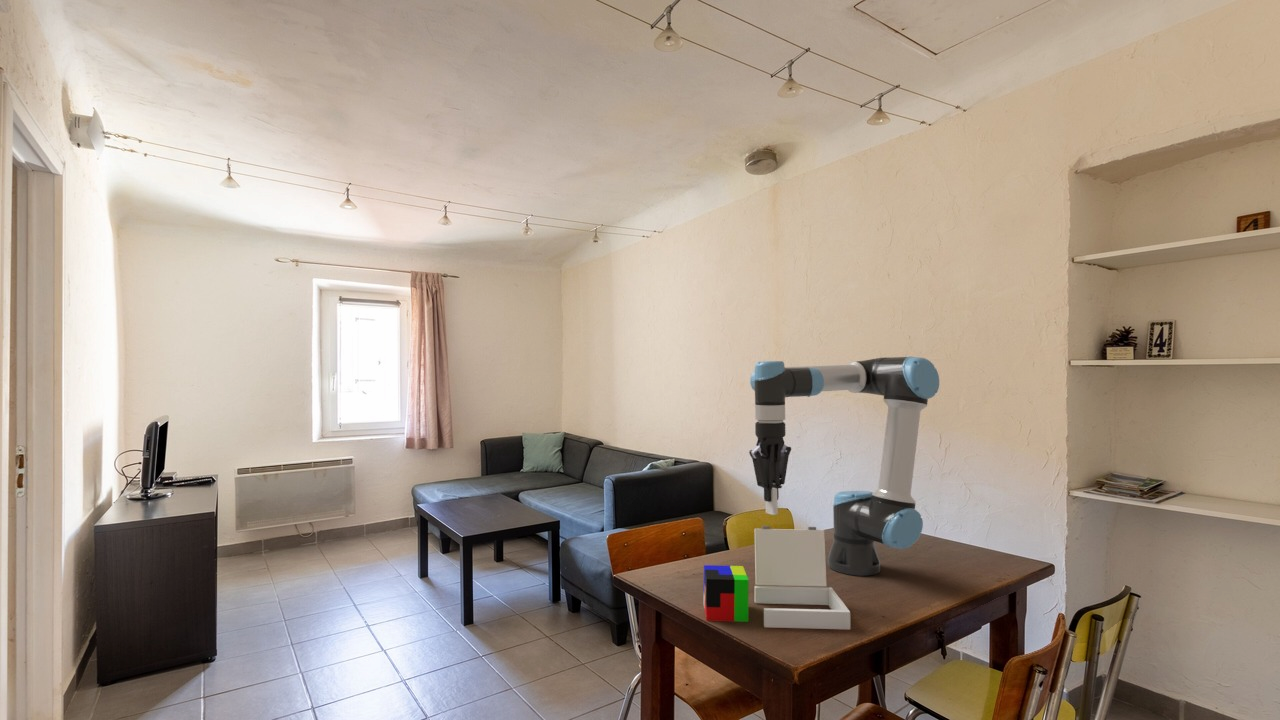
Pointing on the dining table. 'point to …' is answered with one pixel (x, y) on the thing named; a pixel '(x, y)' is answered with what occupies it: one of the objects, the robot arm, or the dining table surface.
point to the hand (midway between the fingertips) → (771, 513)
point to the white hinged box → (803, 617)
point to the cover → (790, 557)
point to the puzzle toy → (725, 593)
